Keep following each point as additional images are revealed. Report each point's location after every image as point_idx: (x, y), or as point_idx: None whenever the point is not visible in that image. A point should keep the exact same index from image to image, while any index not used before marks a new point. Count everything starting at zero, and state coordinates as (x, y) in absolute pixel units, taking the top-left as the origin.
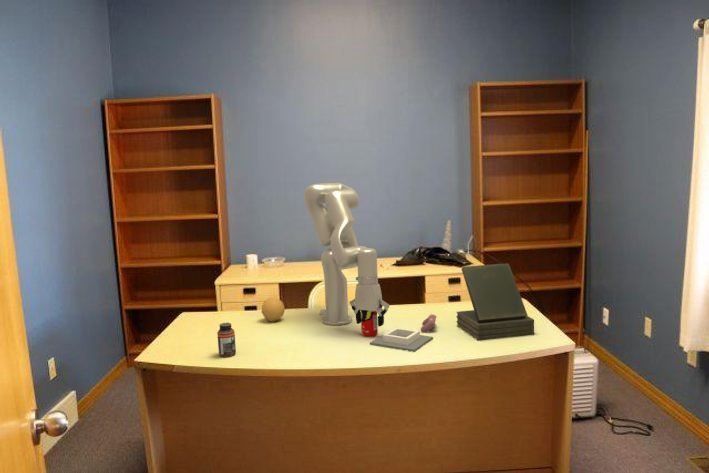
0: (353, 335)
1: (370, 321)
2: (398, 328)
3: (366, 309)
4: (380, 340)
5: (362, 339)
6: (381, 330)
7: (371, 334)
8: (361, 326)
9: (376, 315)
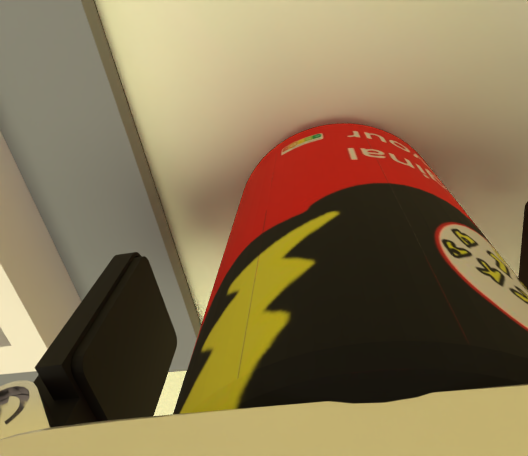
0: (506, 75)
1: (237, 242)
2: (19, 363)
3: (295, 430)
4: (21, 66)
5: (295, 17)
6: None
7: (257, 165)
8: (430, 173)
9: None
